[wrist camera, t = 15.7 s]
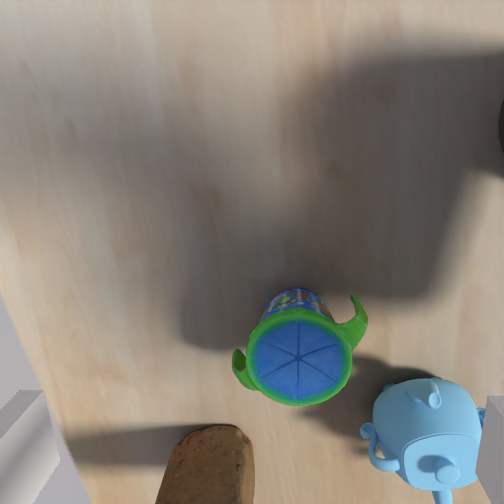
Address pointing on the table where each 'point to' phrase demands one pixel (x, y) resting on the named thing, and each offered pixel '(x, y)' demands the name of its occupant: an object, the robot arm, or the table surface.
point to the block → (210, 469)
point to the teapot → (426, 435)
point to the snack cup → (299, 350)
